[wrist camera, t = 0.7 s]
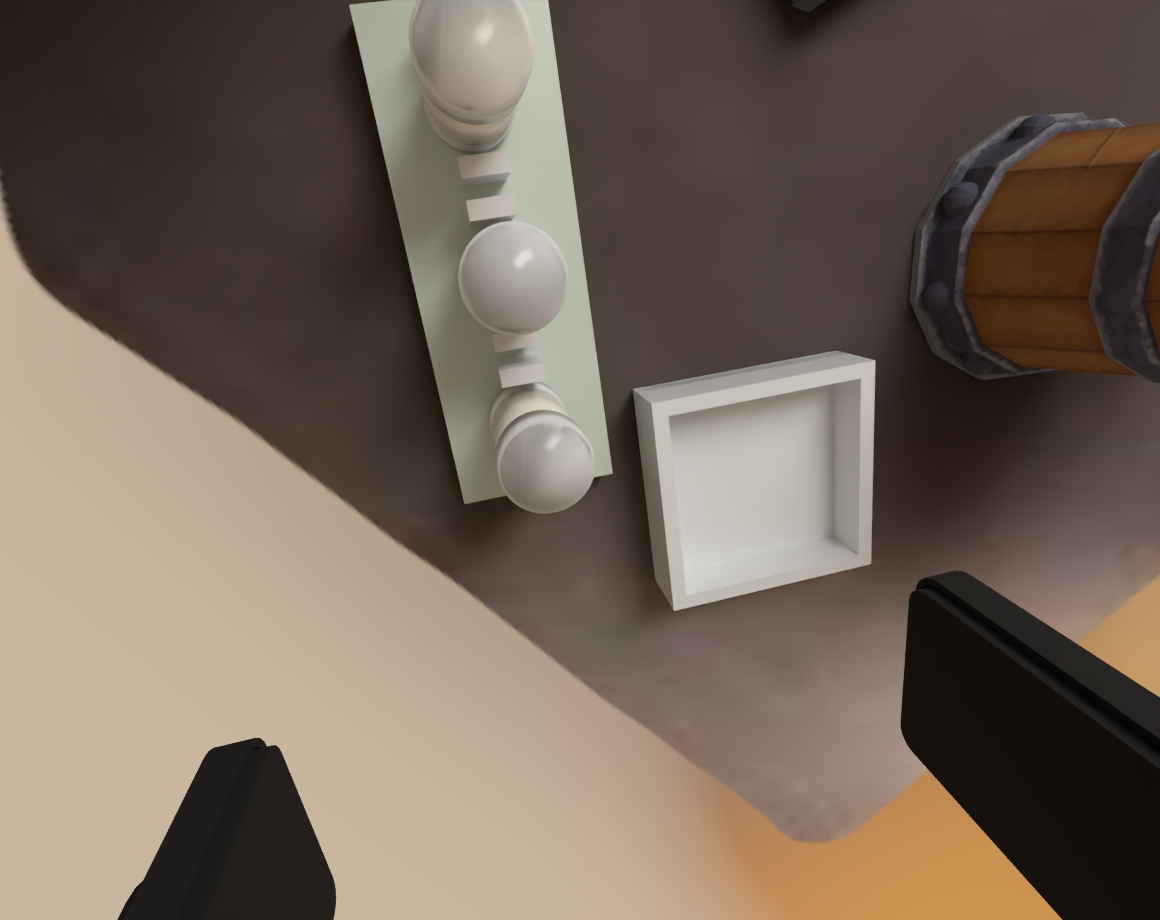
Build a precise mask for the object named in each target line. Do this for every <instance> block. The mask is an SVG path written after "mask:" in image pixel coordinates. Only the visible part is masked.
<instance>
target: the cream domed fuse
mask: <svg viewBox="0 0 1160 920" xmlns="http://www.w3.org/2000/svg"><path fill="white" fill-rule="evenodd" d="M409 46H410V52H411V56H412V60H413V64H414V68H415V72H416V76H417V78H418V81H419V83H420V85H421V87H422V99H423V104H424V108H425V112H426V116H427V119H428V121H429V124H430V126H431V128H432V130H433V131H434V133H435V134H436V135H437V136H438V138H439V139H440V140H441V141H442V142H443V143H444V144H446V145H447V146H448V147H450V148H452V149H454V150H455V151H458V152H461V153H465V154H472V155H474V154H482V153H486V152H488V151H490V150H492V149H494V148H496V147H497V146H498V145H499V144H500V143H501V142H502V141H503V140H504V139H505V137H506V136H507V134H508V132H509V131H510V128H511V125H512V123H513V120H514V118H515V114H516V109H517V104H518V102H519V101H520V99H521V97H522V96H523V93H524V91H525V88H526V86H527V83H528V80H529V78H530V75H531V72H532V68H533V63H534V54H535V45H534V36H533V31H532V27H531V24H530V21H529V18H528V16H527V14H526V11H525V9H524V8H523V6H522V4H521V3H520V1H519V0H417V1H416V3H415V5H414V7H413V10H412V13H411V17H410V22H409Z"/></svg>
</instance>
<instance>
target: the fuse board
mask: <svg viewBox="0 0 1160 920" xmlns="http://www.w3.org/2000/svg"><path fill="white" fill-rule="evenodd" d="M416 1H417V0H391V1H381V2H371V3H361V4H351V5H349V6H350V11H351V15H352V19H353V24H354V28H355V32H356V37H357V41H358V45H359V50H360V54H361V58H362V63H363V67H364V71H365V76H366V80H367V84H368V89H369V93H370V97H371V102H372V106H373V110H374V115H375V119H376V123H377V127H378V132H379V136H380V140H381V145H382V149H383V153H384V158H385V162H386V166H387V171H388V175H389V179H390V184H391V188H392V192H393V197H394V201H395V205H396V210H397V214H398V218H399V223H400V227H401V231H402V236H403V240H404V244H405V249H406V253H407V257H408V262H409V266H410V270H411V275H412V279H413V283H414V288H415V292H416V296H417V300H418V305H419V309H420V313H421V318H422V322H423V326H424V331H425V335H426V339H427V344H428V348H429V352H430V357H431V361H432V365H433V370H434V374H435V378H436V383H437V387H438V391H439V396H440V400H441V404H442V409H443V413H444V417H445V422H446V426H447V430H448V435H449V439H450V443H451V448H452V452H453V456H454V461H455V465H456V469H457V473H458V478H459V482H460V486H461V491H462V495H463V499H464V504H468V503H473V502H477V501H482V500H487V499H492V498H497V497H502V496H507V495H506V494H505V492H504V491H503V489H502V487H501V485H500V482H499V478H498V472H497V466H496V459H495V452H496V446H495V442H494V440H493V438H492V434H491V430H490V424H489V410H490V406H491V403H492V401H493V399H494V397H495V396H496V394H497V393H498V392H499V391H500V390H501V389H502V388H506V387H512V386H517V385H522V384H528V383H533V382H541V383H544V384H546V385H547V386H549V387H550V388H551V389H552V390H553V391H554V392H555V393H556V394H557V396H558V397H559V398H560V400H561V401H562V403H563V404H564V406H565V408H566V411H567V414H568V415H569V417H570V418H571V419H572V420H573V421H574V422H575V423H576V424H577V425H578V426H579V428H580V429H581V430H582V432H583V433H584V435H585V436H586V438H587V439H588V441H589V442H590V444H591V446H592V448H593V451H594V455H595V462H596V467H595V474H594V477H599V476H604V475H608V474H613V472H612V465H611V457H610V450H609V443H608V435H607V428H606V421H605V414H604V406H603V399H602V392H601V384H600V377H599V370H598V362H597V355H596V348H595V341H594V333H593V326H592V319H591V311H590V304H589V297H588V289H587V282H586V275H585V268H584V260H583V253H582V246H581V238H580V231H579V224H578V216H577V209H576V202H575V195H574V187H573V180H572V173H571V165H570V158H569V151H568V143H567V136H566V129H565V122H564V114H563V107H562V100H561V92H560V85H559V78H558V70H557V63H556V56H555V49H554V41H553V34H552V27H551V19H550V12H549V5H548V0H519V1H520V3H521V4H522V6H523V8H524V9H525V11H526V14H527V16H528V18H529V21H530V24H531V27H532V31H533V36H534V45H535V54H534V63H533V68H532V72H531V75H530V78H529V80H528V83H527V86H526V88H525V91H524V93H523V96H522V97H521V99H520V101H519V102H518V104H517V109H516V114H515V118H514V120H513V123H512V125H511V128H510V131H509V132H508V134H507V136H506V137H505V139H504V140H503V141H502V142H501V143H500V144H499V145H498V146H497V147H496V148H494V149H492V150H490V151H488V152H486V153H482V154H474V155H472V154H465V153H461V152H458V151H455V150H454V149H452V148H450V147H448V146H447V145H446V144H444V143H443V142H442V141H441V140H440V139H439V138H438V136H437V135H436V134H435V133H434V131H433V130H432V128H431V126H430V124H429V121H428V119H427V116H426V112H425V108H424V104H423V99H422V87H421V85H420V83H419V81H418V78H417V76H416V72H415V68H414V64H413V60H412V56H411V52H410V46H409V22H410V17H411V13H412V10H413V7H414V5H415V3H416ZM507 221H517V222H523V223H527V224H530V225H533V226H535V227H537V228H539V229H541V230H542V231H544V232H545V233H546V234H547V235H549V236H550V237H551V238H552V239H553V240H554V242H555V243H556V244H557V246H558V247H559V249H560V250H561V252H562V254H563V256H564V259H565V262H566V265H567V269H568V278H569V281H568V291H567V295H566V299H565V302H564V304H563V306H562V308H561V310H560V311H559V313H558V314H557V315H556V317H555V318H554V319H553V320H552V321H551V322H550V323H549V324H548V325H546V326H545V327H544V328H542V329H540V330H538V331H536V332H533V333H531V334H527V335H521V336H509V335H503V334H499V333H496V332H494V331H492V330H489V329H488V328H486V327H484V326H483V325H482V324H480V323H479V322H478V321H477V320H476V319H475V318H474V317H473V316H472V315H471V313H470V312H469V311H468V309H467V307H466V306H465V304H464V301H463V299H462V297H461V293H460V289H459V283H458V272H459V265H460V261H461V258H462V255H463V253H464V251H465V249H466V247H467V245H468V244H469V243H470V241H471V240H472V239H473V238H474V237H475V236H476V235H477V234H478V233H479V232H481V231H482V230H483V229H485V228H487V227H489V226H491V225H494V224H496V223H500V222H507Z"/></svg>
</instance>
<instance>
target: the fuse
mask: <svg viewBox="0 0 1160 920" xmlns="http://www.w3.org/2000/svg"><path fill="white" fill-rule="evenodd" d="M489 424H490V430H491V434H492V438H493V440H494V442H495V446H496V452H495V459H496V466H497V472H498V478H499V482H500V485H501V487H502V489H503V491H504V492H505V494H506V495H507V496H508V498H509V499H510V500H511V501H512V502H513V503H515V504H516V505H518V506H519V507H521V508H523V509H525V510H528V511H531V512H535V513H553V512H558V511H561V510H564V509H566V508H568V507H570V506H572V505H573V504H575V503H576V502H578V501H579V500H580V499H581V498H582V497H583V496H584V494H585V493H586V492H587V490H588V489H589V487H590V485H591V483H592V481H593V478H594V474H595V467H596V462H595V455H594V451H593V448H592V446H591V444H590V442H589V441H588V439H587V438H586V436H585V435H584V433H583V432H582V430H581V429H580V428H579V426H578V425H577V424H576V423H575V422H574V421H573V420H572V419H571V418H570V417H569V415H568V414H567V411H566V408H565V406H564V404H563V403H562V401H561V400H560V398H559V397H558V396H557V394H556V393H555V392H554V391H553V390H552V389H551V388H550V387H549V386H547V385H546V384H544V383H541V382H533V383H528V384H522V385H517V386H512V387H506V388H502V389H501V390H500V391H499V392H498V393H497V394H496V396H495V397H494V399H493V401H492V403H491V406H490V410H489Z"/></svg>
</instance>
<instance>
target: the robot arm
mask: <svg viewBox="0 0 1160 920" xmlns="http://www.w3.org/2000/svg"><path fill="white" fill-rule="evenodd" d="M901 731H902V734H903V737H904V739H905V741H906V743H907V745H908V747H909V748H910V749H911V751H912V752H913V753H914V754H915V755H916V756H917V757H918V759H919V760H920V761H921V762H922V763H923V764H924V765H925V766H926V768H927V769H928V770H929V771H930V772H931V773H932V774H933V775H934V776H935V778H937V780H938V781H939V782H940V783H941V784H942V785H943V786H944V788H945V789H946V790H947V791H948V792H949V793H950V794H951V795H952V797H953V798H954V799H955V800H956V801H957V802H958V803H959V804H960V805H961V807H962V808H963V809H964V810H965V811H966V812H967V813H968V814H969V816H970V817H971V818H972V819H973V820H974V821H975V822H976V823H977V825H978V826H979V827H980V828H981V829H982V830H983V831H984V832H985V834H987V836H988V837H989V838H990V839H991V840H992V841H993V842H994V844H995V845H996V846H997V847H998V848H999V849H1000V850H1001V851H1002V852H1003V853H1004V855H1005V856H1006V857H1007V858H1008V859H1009V860H1010V861H1011V863H1013V865H1014V866H1015V867H1016V868H1017V869H1018V870H1019V871H1020V873H1021V874H1022V875H1023V876H1024V877H1025V878H1026V879H1027V881H1028V882H1029V883H1030V884H1031V885H1032V886H1033V887H1034V888H1035V889H1036V891H1037V892H1038V893H1039V894H1040V895H1041V896H1042V897H1043V898H1044V899H1045V901H1046V902H1047V903H1048V904H1049V905H1050V906H1051V907H1052V908H1053V910H1054V911H1055V912H1056V913H1057V914H1058V915H1059V916H1060V917H1061V918H1062V920H1160V697H1158V696H1157V695H1155V694H1153V693H1152V692H1150V691H1149V690H1147V689H1146V688H1144V687H1143V686H1141V685H1139V684H1138V683H1136V682H1135V681H1133V680H1132V679H1130V678H1129V677H1127V676H1126V675H1124V674H1122V673H1121V672H1119V671H1118V670H1116V669H1115V668H1113V667H1111V666H1110V665H1108V664H1107V663H1105V662H1104V661H1102V660H1101V659H1099V658H1097V657H1096V656H1095V655H1093V654H1092V653H1090V652H1089V651H1087V650H1085V649H1084V648H1082V647H1081V646H1079V645H1078V644H1076V643H1075V642H1073V641H1072V640H1070V639H1068V638H1067V637H1065V636H1064V635H1062V634H1061V633H1059V632H1058V631H1056V630H1055V629H1053V628H1051V627H1050V626H1048V625H1047V624H1045V623H1044V622H1042V621H1041V620H1039V619H1038V618H1036V617H1034V616H1033V615H1031V614H1030V613H1028V612H1027V611H1025V610H1024V609H1022V608H1020V607H1019V606H1017V605H1016V604H1014V603H1013V602H1011V601H1010V600H1008V599H1007V598H1005V597H1003V596H1002V595H1000V594H999V593H997V592H996V591H994V590H993V589H991V588H990V587H988V586H986V585H985V584H983V583H982V582H980V581H979V580H977V579H976V578H974V577H973V576H971V575H969V574H967V573H965V572H963V571H952V572H948V573H944V574H940V575H935V576H931V577H927V578H924V579H922V580H920V581H919V583H918V584H917V587H916V591H913V592H912V593H911V595H910V598H909V609H908V624H907V638H906V653H905V667H904V682H903V696H902V711H901ZM335 906H336V889H335V884H334V879H333V876H332V874H331V872H330V869H329V867H328V864H327V862H326V859H325V857H324V855H323V852H322V850H321V847H320V845H319V842H318V840H317V838H316V835H315V833H314V830H313V828H312V825H311V823H310V821H309V818H308V816H307V813H306V811H305V809H304V806H303V803H302V801H301V799H300V796H299V794H298V791H297V789H296V786H295V784H294V782H293V779H292V777H291V774H290V772H289V769H288V767H287V765H286V762H285V760H284V757H283V755H282V753H281V751H280V749H279V748H278V747H277V746H276V745H274V746H268V747H267V746H266V744H265V742H264V741H263V740H262V739H261V738H253V739H249V740H245V741H240V742H236V743H232V744H228V745H224V746H220V747H215V748H213V749H211V750H210V751H208V753H207V754H206V756H205V758H204V759H203V761H202V763H201V765H200V767H199V769H198V771H197V773H196V775H195V777H194V779H193V781H192V783H191V785H190V787H189V789H188V791H187V793H186V795H185V797H184V799H183V801H182V803H181V805H180V807H179V809H178V812H177V813H176V815H175V817H174V820H173V822H172V823H171V825H170V827H169V829H168V832H167V834H166V836H165V838H164V840H163V842H162V844H161V846H160V848H159V850H158V852H157V854H156V856H155V858H154V860H153V862H152V864H151V866H150V868H149V870H148V872H147V874H146V876H145V878H144V880H143V881H142V882H141V883H140V884H139V885H138V886H137V887H136V888H135V889H134V891H133V893H132V894H131V896H130V897H129V899H128V900H127V902H126V904H125V906H124V908H123V910H122V912H121V914H120V916H119V918H118V920H333V919H334V913H335Z"/></svg>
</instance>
